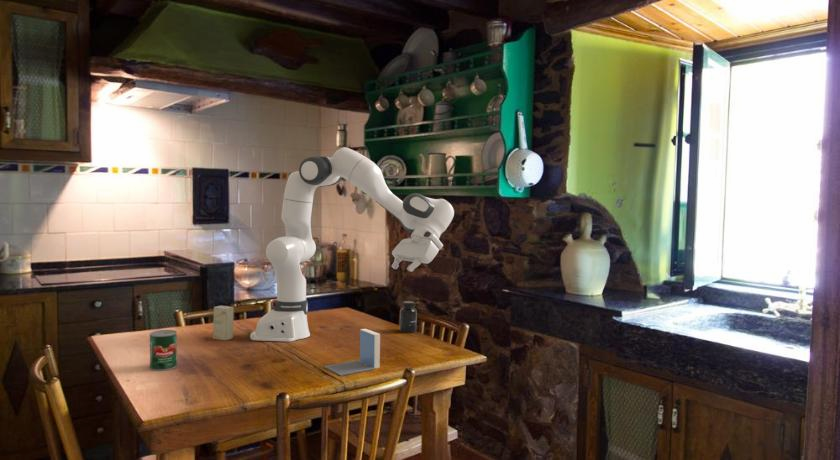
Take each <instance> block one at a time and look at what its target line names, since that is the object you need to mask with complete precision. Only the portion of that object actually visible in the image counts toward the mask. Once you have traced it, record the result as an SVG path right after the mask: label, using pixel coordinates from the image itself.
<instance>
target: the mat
mask: <svg viewBox="0 0 840 460" xmlns="http://www.w3.org/2000/svg"><path fill="white" fill-rule="evenodd" d="M323 367H324V369H326V370H328V371H330V372H332V373H334V374H336V375H338V376H340V377H342V376H348V374H349V375H353V373H355V374H359V372H360V373H364V372H365V373H366V372H370V371H374V370H375V369H374V368H372V367H370V366H368V365H365V364H363V363H361V362H360V360H356V359H355V360H352V361H351V360H350V361H345V362H340V363H333V364H328V365H324V366H323Z"/></svg>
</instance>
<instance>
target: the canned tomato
mask: <svg viewBox="0 0 840 460" xmlns="http://www.w3.org/2000/svg"><path fill="white" fill-rule="evenodd" d="M177 333H178V332H177V330H174V329H162V330H155V331H151V332H150V333H149V369H150V370H151V371H157V372H160V371H162V372H163V371H169V370H173V369H175V368H177V366H178V363H177V362H178V355H177V354H178V352H177V351H178V349H177V348H178V347H177V345H178V344H177V343H178V341H177V336H178V335H177Z"/></svg>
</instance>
